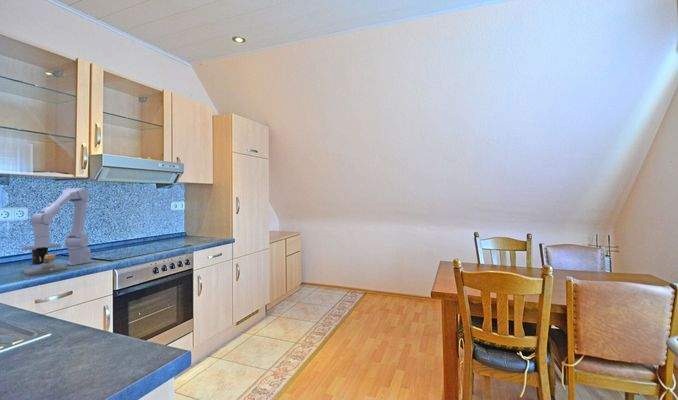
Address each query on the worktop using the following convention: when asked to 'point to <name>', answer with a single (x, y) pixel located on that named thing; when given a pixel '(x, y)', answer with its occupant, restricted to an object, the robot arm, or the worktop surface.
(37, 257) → the supplement bottle
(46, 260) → the crank handle
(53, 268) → the plate
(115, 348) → the worktop surface
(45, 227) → the robot arm
